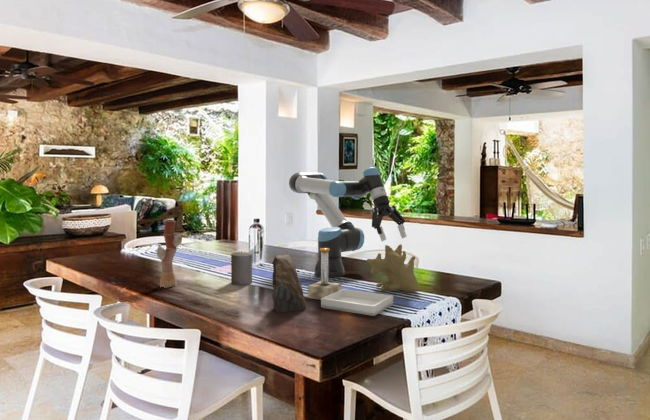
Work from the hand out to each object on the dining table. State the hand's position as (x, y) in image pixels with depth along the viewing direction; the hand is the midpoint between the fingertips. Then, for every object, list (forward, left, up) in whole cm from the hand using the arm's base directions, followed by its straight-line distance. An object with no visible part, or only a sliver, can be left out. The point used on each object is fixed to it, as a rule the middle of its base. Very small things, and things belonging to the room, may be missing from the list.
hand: (394, 239), depth 228 cm
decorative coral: (+5, -14, -20) cm, 25 cm away
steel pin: (-14, -42, -20) cm, 48 cm away
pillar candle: (-60, -39, -20) cm, 74 cm away
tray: (+4, -48, -20) cm, 52 cm away
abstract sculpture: (-83, -61, -20) cm, 105 cm away
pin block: (-14, -42, -20) cm, 48 cm away
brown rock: (-17, -64, -20) cm, 69 cm away
